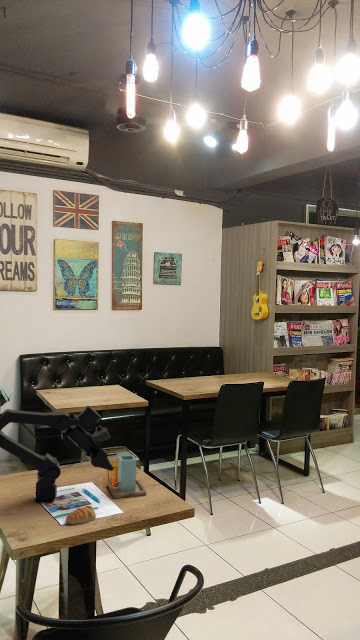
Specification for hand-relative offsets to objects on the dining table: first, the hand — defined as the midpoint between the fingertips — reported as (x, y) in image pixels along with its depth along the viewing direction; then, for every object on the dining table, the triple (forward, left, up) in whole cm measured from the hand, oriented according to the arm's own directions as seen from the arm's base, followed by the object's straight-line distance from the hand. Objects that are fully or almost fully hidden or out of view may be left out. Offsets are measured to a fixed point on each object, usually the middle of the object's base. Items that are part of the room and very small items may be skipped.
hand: (110, 465), depth 181 cm
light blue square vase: (+6, +2, -10) cm, 11 cm away
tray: (+6, +2, -10) cm, 12 cm away
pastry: (-7, -22, -11) cm, 25 cm away
